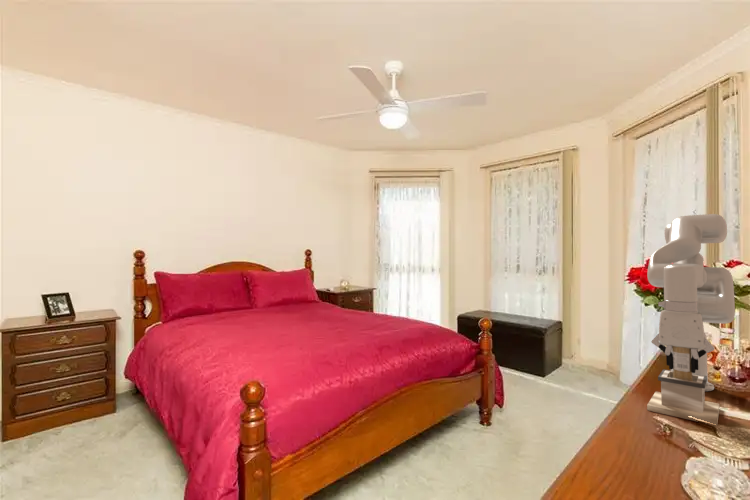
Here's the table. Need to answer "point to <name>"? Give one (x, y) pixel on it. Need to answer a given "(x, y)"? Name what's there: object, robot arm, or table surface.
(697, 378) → the silver stepped pedestal
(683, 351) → the sprinkles bottle
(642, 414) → the table surface
